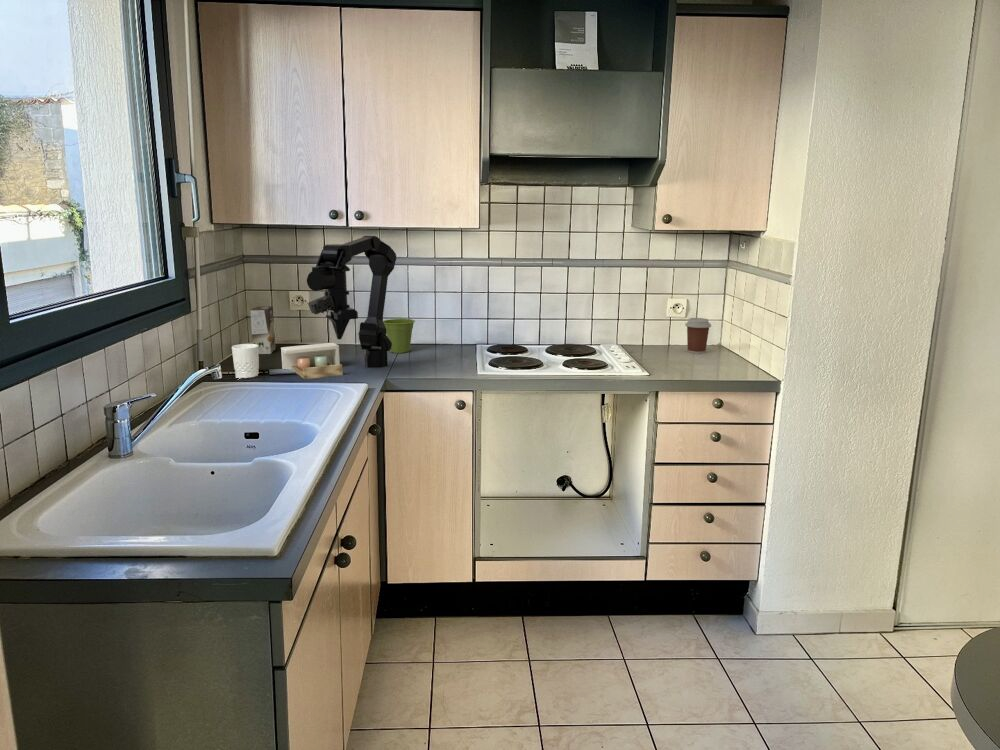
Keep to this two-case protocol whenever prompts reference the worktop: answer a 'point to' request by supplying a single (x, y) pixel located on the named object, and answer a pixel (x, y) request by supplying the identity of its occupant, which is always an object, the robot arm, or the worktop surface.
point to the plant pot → (399, 334)
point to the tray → (319, 371)
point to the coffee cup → (697, 334)
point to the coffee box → (263, 329)
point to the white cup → (246, 360)
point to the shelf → (309, 353)
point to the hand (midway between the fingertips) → (339, 339)
